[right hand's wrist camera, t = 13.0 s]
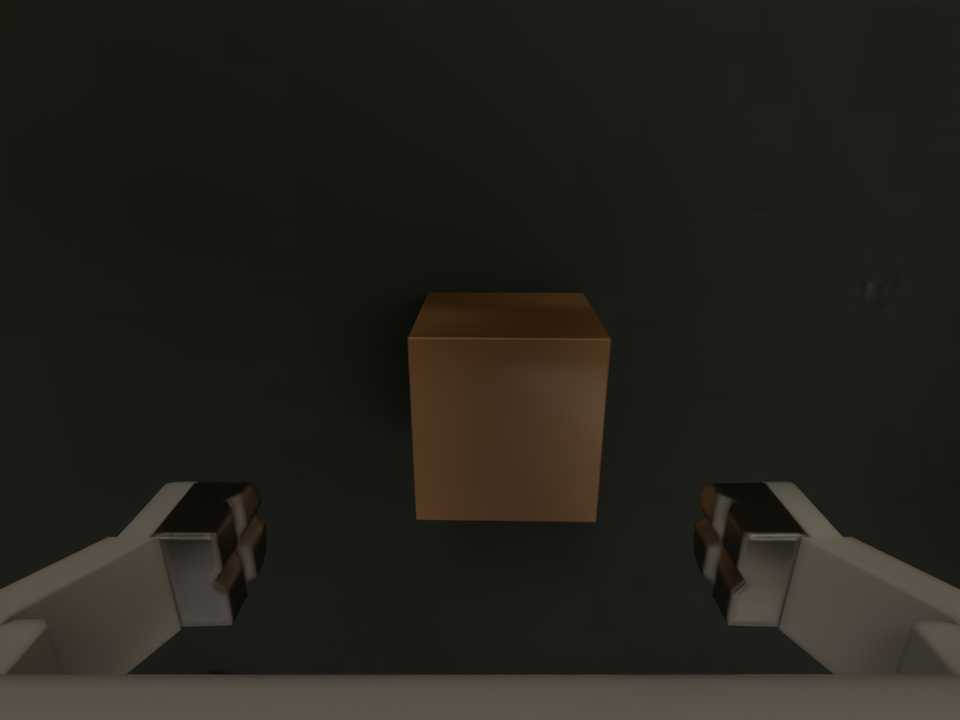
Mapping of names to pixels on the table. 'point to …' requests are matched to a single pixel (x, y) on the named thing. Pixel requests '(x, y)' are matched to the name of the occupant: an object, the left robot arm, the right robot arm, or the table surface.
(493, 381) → the brown wooden block
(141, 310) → the table surface
